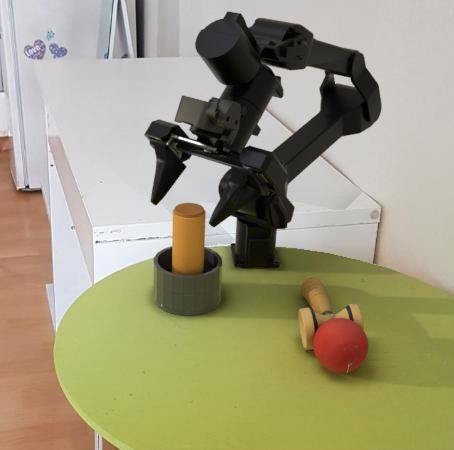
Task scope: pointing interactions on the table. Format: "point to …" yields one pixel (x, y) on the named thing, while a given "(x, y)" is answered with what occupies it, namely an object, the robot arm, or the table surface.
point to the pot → (187, 285)
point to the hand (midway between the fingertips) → (181, 214)
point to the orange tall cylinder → (188, 239)
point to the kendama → (332, 330)
